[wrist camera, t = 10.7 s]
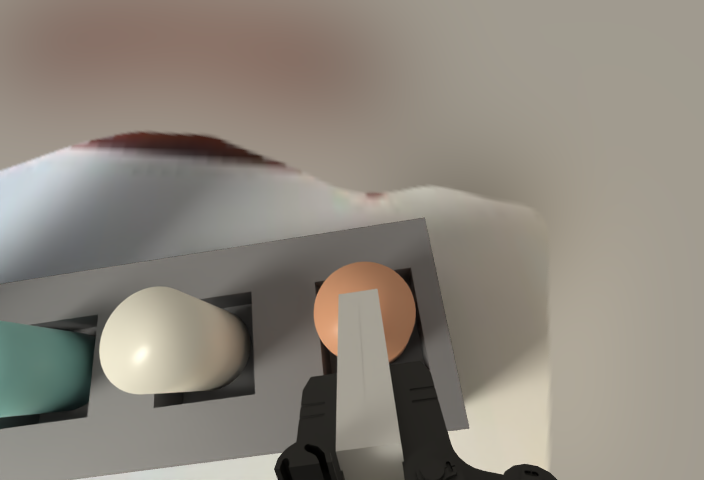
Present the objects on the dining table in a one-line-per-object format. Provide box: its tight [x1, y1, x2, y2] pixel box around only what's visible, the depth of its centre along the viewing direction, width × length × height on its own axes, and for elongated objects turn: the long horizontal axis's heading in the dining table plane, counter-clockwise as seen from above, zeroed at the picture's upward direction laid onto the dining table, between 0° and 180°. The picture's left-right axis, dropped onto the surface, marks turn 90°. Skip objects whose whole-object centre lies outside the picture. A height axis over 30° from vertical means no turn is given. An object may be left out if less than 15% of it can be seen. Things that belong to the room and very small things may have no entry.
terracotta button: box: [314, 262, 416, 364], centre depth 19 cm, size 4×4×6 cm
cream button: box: [99, 286, 250, 394], centre depth 19 cm, size 4×4×6 cm
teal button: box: [0, 321, 96, 417], centre depth 20 cm, size 4×4×6 cm
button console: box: [0, 218, 469, 480], centre depth 25 cm, size 26×11×9 cm, turn 98°
